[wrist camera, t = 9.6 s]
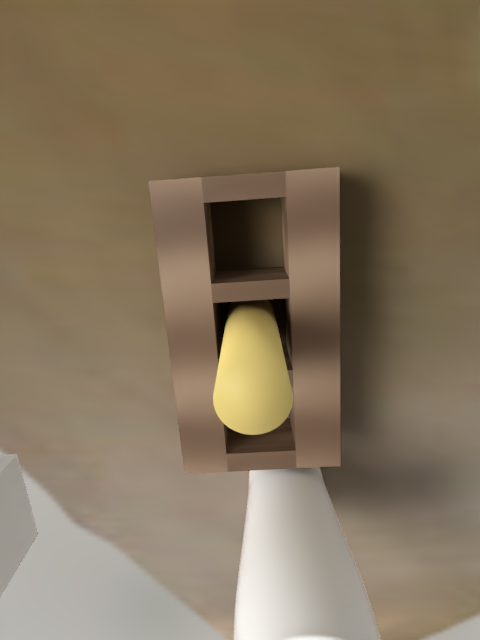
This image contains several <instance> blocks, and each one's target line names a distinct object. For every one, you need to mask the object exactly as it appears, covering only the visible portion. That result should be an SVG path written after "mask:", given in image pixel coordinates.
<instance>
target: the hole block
mask: <svg viewBox="0 0 480 640" xmlns="http://www.w3.org/2000/svg"><path fill="white" fill-rule="evenodd" d="M148 183H149V191H150V199H151V207H152V215H153V223H154V231H155V239H156V247H157V255H158V263H159V271H160V279H161V287H162V295H163V303H164V311H165V319H166V327H167V335H168V343H169V351H170V360H171V368H172V376H173V384H174V392H175V400H176V408H177V416H178V424H179V432H180V440H181V448H182V456H183V464H184V472H185V474H190V473H210V472H231V471H251V470H272V469H292V468H313V467H333V466H341V429H340V167H331V168H318V169H304V170H291V171H277V172H264V173H251V174H237V175H224V176H210V177H197V178H183V179H170V180H157V181H148ZM278 197H281V214H282V239H283V263H284V267H277V268H262V269H247V270H232V271H216V265H215V254H214V242H213V231H212V219H211V207H210V202H222V201H236V200H250V199H264V198H278ZM283 298H285V312H286V336H287V347H282V348H283V353H284V357H285V362H286V366H287V371H288V375H289V380H290V384H291V389H292V394H293V403H292V408H291V411H290V419H286V420H285V421H284V422H283V423H282V424H281V425H280V426H278V427H277V428H276V429H274V430H272V431H270V432H267V433H264V434H258V435H247V434H242V433H239V432H236V431H234V430H232V429H230V428H229V427H227V426H226V425H225V424H224V423H223V422H222V421H221V420H220V418H219V417H218V415H217V413H216V411H215V408H214V404H213V393H214V387H215V382H216V376H217V370H218V364H219V359H220V353H221V347H222V335H221V323H220V312H219V303H220V302H235V301H251V300H267V299H283Z"/></svg>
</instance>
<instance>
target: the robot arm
mask: <svg viewBox="0 0 480 640" xmlns="http://www.w3.org/2000/svg"><path fill="white" fill-rule="evenodd" d="M37 535H38V532H37V528H36V525H35V521H34V517H33V514H32V509H31V506H30V502H29V498H28V494H27V491H26V487H25V483H24V479H23V475H22V472H21V468H20V464H19V460H18V456H17V454H9V455H0V597H1V595H2V593H3V592H4V590H5V588H6V587H7V585H8V583H9V582H10V580H11V578H12V577H13V575H14V573H15V572H16V570H17V568H18V567H19V565H20V563H21V562H22V560H23V558H24V557H25V555H26V553H27V552H28V550H29V548H30V547H31V545H32V543H33V542H34V540H35V538H36V537H37Z"/></svg>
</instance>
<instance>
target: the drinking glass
mask: <svg viewBox="0 0 480 640" xmlns="http://www.w3.org/2000/svg"><path fill="white" fill-rule="evenodd" d="M234 640H381V636H380V632H379V628H378V625H377V621H376V618H375V615H374V611H373V608H372V605H371V602H370V599H369V596H368V593H367V590H366V587H365V585H364V582H363V579H362V577H361V574H360V572H359V569H358V567H357V564H356V562H355V559H354V557H353V554H352V552H351V549H350V547H349V544H348V542H347V539H346V537H345V534H344V532H343V529H342V527H341V524H340V522H339V519H338V517H337V514H336V512H335V509H334V507H333V504H332V502H331V499H330V496H329V494H328V491H327V489H326V486H325V483H324V480H323V476H322V472H321V469H320V467H313V468H292V469H272V470H251V471H250V472H249V493H248V502H247V511H246V519H245V527H244V535H243V543H242V551H241V559H240V567H239V574H238V583H237V591H236V602H235V616H234Z"/></svg>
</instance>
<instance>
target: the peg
mask: <svg viewBox="0 0 480 640" xmlns="http://www.w3.org/2000/svg"><path fill="white" fill-rule="evenodd" d="M292 403H293V394H292V389H291V384H290V380H289V375H288V371H287V366H286V362H285V357H284V353H283V348H282V344H281V339H280V334H279V330H278V325H277V321H276V316H275V312H274V308H273V306H272V304H271V303H270V302H269V301H268V300H251V301H235V302H232V303H231V305H230V307H229V309H228V313H227V319H226V324H225V330H224V336H223V342H222V347H221V353H220V359H219V364H218V370H217V376H216V382H215V387H214V393H213V404H214V408H215V411H216V413H217V415H218V417H219V418H220V420H221V421H222V422H223V423H224V424H225V425H226V426H227V427H229V428H230V429H232V430H234V431H236V432H239V433H242V434H247V435H258V434H264V433H267V432H270V431H272V430H274V429H276V428H277V427H278V426H280V425H281V424H282V423H283V422H284V421H285V420H286V418H287V417H288V415H289V413H290V411H291V408H292Z"/></svg>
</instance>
